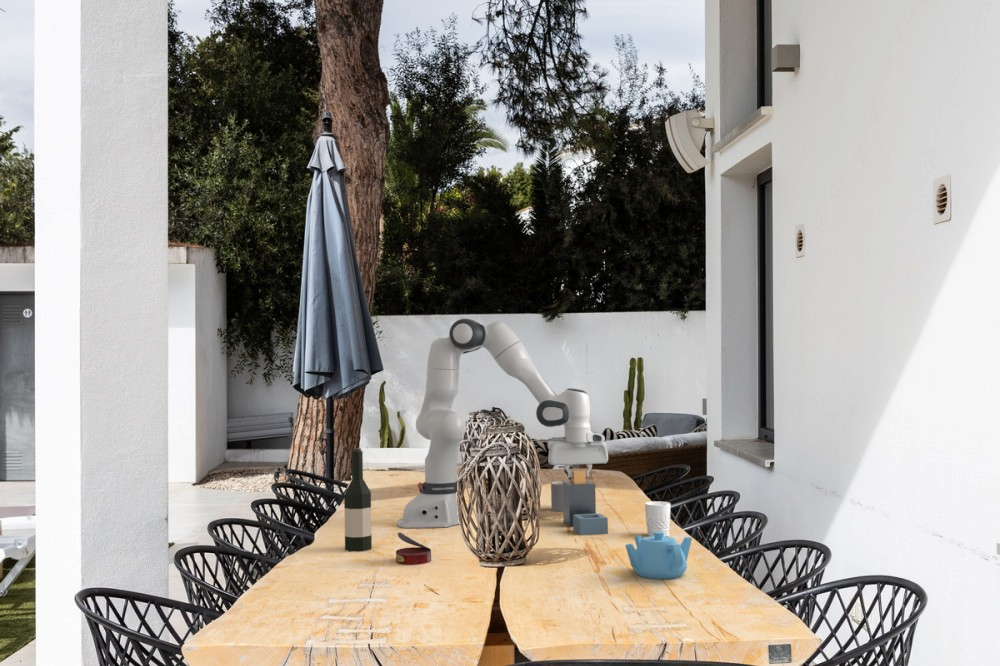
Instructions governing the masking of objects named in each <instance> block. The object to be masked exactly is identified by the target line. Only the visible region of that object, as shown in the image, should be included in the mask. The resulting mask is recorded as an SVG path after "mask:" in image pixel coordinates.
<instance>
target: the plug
mask: <svg viewBox="0 0 1000 666" xmlns="http://www.w3.org/2000/svg"><path fill="white" fill-rule="evenodd" d="M570 472H572V473H573V478H570V479H571V480H570V481H571V483H572V484H585V483H586V480H587V478H586V470H585V469H571V470H570Z"/></svg>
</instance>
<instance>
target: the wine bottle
mask: <svg viewBox="0 0 1000 666" xmlns="http://www.w3.org/2000/svg"><path fill="white" fill-rule="evenodd" d="M363 452H364V451H363V450H362V448H361V447H357V448H356V447H355V448H352V451H351V481H350V482H349V485H348V487H347V488H346V490H345V493H343V494H344V495H343V496H344V498H343V499H344V507H343V508H344V551H346V550H348V551H347V552H351V551H356V552H366V551H370V550H372V548H373V547H372V545H373V544H372V543H373V542H372V491H371V489H370V488H369V486H368V485H367V483H366V482H365V480H364V473H363V472H364V470H363V469H364V466H363V465H364V464H363V463H364V461H363V459H364V458H363Z"/></svg>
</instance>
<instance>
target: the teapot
mask: <svg viewBox="0 0 1000 666" xmlns="http://www.w3.org/2000/svg"><path fill="white" fill-rule="evenodd" d="M653 535H654V536H645V537H643V536H642V535H634V541H635V545H636V548H635V546H634V544H632V543H628V544H625V549H626V552H627V556H628V560H629V562H630V566H631V568H632V570H633V571H634V572H635V574H636V575H637V576H639V577H642V578H645V579H652V580H653V579H654V580H669V579H676V578H680V577H682V575H683V574H684V573H685V572H686V571H687V568H688V566H687V564H688V563H687V561H688V557H689V553H690V548H691V544H692V540H693V538H692V537H690V536H686V537H685V536H684V538H683V540H682V542H681V544H679V543H678V542H677V540H676V539H675V538H673V537H672V536H667V537H666V536H663V535H664V532H653Z"/></svg>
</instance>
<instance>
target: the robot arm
mask: <svg viewBox="0 0 1000 666" xmlns="http://www.w3.org/2000/svg"><path fill="white" fill-rule="evenodd" d="M481 348H484V349H486V351H488V352H489V354H490V355H491V356H492V358H493V359H494V361H495V363H497V365H498V367H500V369H501V370H502V371H503V372H505V374H507V375H508V376H509V377H512V378H515V379H517V380H518V381H520V382H521V383H522V384H524V385H525V387H526V388H527V389H528V390H529V392H530V393H531V394H532V395H533V396H532V397H534V399H535V400H536V401H537V403H538V406H537V407H536V411H535V417H536V419H537V421H538V422H539V423H540V424H541V425H543V426H544V427H546V428H555V427H560V426H564V436H560V437H552V438H550V439H549V440H548V441H547V449H548V458H547V459H548V461H547V462H548V464H549V465H551V466H564V469H565V471H566V473H567V478H568V479H571V478H573V473H572V472H571V470H570V468H571V466H573V465H586V470H585V471H586V479H587V478H590V472H591V470H592V468H593V465H595V464H596V465H597V464H607V463H608V461H609V454H608V453H609V452H608V447H607V444H606V443H605V440H606V439H605V435H603V434H601V433H597V432H595V431H592V430H591V429H592V428H591V427H592V426H591V424H590V418H591V401H590V397H589V394H588V393H587V392H586V391H585V390H582V389H579V388H572V387H570V388H566V389H565V390H564V391H562V392H561V393H559V394H556V393H555V392H554V391H553V390H552V388H551V387H550V386H549V385H548V383H547V382H546V380H545V379H544V377H542V375H541V374H540V372H539V371H538V369H537V367H536V365H535V364H534V362H533V360H532V358H531V355H530V354H529V351H528V350H527V348H526V347H525V345H524V344H523V342H522V341H521V340H520V338H519V337H518V336H517V334H516V333H515V332H514V331H513V330H512V329H511V328H510V327H509V325H507V324H506V323H505V322H504V321H501V320H497V321H493V322H491V323H489V324H488V325H485V326H484V325H483V324H481V323H480V322H478V321H476V320H475V319H470V318H461V319H458V320H456V321H455V322H454V323H453V324H452V325H451V326H450V329H449V336H447V337H439V338H436V339H434V340H433V341H432V343H431V344H430V348H429V353H428V358H427V368H426V381H425V382H426V385H425V394H424V398H423V401H422V406H421V408H420V409H421V410H420V413H419V415H417V417H416V420H415V428H416V431H417V433H418V434H419V435H420V436H421V437H423V438H424V439H426V440H429V441H430V443H429V447H428V448H429V449H428V452H427V455H426V456H425V458H424V459H425V460H424V482H420V481H419V482H418V483H417V485H416V486H417V488H418V490H419V493H418V494H417V495H416V496H415V497H414V498H412V499H411V500H410V501H409V502H407V504H406V505H405V506H404V508H403V512H402V513H403V514H402V518H400V519H397V520H396V526H397V527H400V528H403V529H417V528H418V529H421V528H430V529H431V528H432V529H433V528H448V527H452V526H457V525H460V524H459V522H458V515H457V501H456V492H457V481H458V455H459V451H460V450H459V449H460V444H461V440H462V438H464V435H465V433H466V430H467V424H466V420H465V419H464V418H463V416H462V415H460V414H459V413H458V412H455V411H454V410H452V407H453V403H454V400H455V398H456V396H457V395H458V392H459V378H460V376H459V375H460V359H461V356H462V355H464V354H467V353H471V352H475V351H479V350H480V349H481Z"/></svg>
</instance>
